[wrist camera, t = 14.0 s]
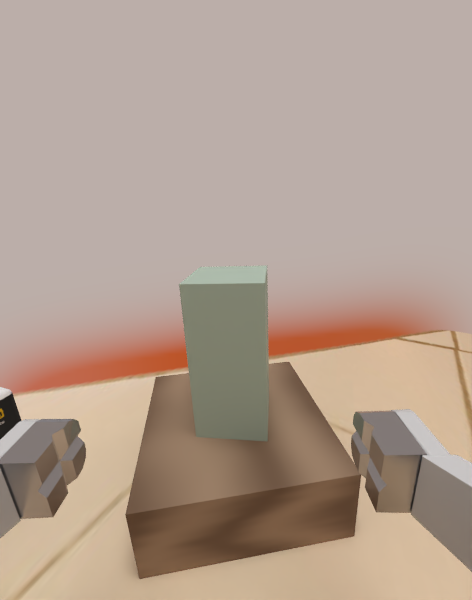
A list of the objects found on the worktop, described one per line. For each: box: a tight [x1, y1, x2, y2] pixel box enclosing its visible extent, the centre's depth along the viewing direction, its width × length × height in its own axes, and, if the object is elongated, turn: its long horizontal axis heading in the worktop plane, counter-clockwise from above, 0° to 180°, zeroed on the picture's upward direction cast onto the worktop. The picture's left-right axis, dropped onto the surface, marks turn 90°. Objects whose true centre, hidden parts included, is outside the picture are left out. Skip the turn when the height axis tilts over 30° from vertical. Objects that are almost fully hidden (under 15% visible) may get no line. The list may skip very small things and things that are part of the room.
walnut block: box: [126, 362, 361, 579], centre depth 21 cm, size 12×12×5 cm
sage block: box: [179, 266, 269, 441], centre depth 18 cm, size 4×4×10 cm
